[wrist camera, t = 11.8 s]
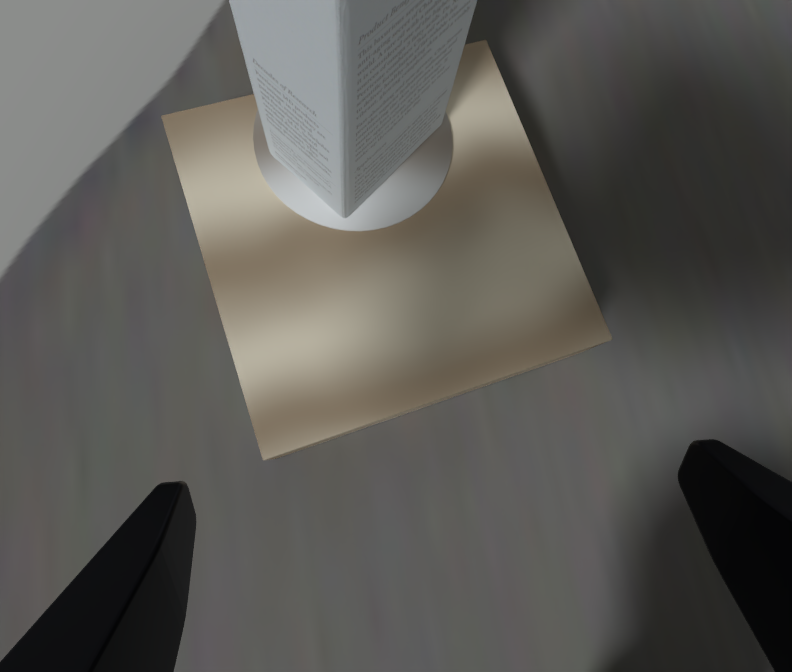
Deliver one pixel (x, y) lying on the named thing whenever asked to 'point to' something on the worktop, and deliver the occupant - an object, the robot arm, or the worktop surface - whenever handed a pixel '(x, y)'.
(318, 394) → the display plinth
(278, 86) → the skincare box
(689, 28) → the worktop surface
